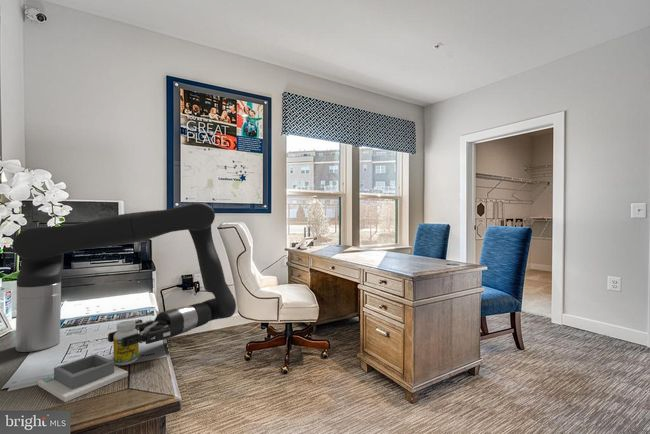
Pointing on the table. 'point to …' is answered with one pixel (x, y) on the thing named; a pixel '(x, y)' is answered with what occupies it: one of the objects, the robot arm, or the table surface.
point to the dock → (81, 377)
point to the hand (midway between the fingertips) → (115, 340)
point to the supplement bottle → (125, 353)
